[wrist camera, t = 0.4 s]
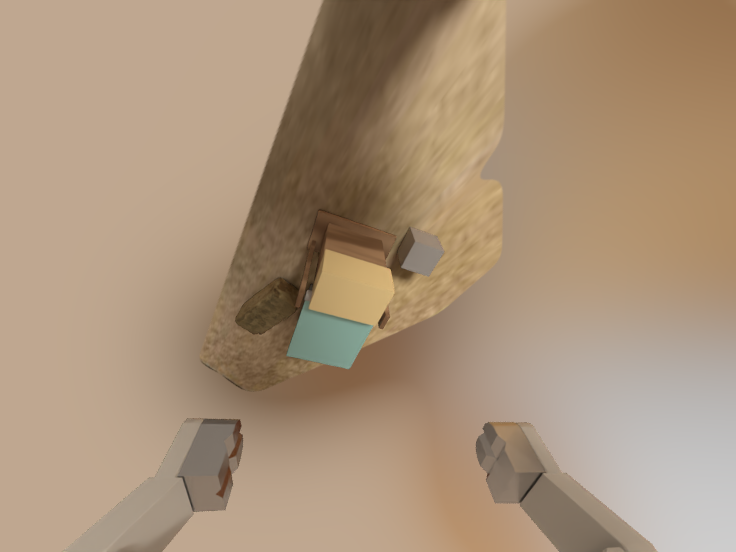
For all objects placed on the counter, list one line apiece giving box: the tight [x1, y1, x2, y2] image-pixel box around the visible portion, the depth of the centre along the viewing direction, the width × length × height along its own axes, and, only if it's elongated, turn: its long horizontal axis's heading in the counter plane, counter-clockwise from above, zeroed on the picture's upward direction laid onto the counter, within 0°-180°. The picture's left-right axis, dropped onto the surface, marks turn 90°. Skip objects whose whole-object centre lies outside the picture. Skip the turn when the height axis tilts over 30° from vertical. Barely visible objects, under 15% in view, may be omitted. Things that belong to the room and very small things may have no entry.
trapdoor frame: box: [295, 210, 396, 329], centre depth 42 cm, size 8×13×14 cm, turn 69°
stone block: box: [235, 278, 299, 334], centre depth 53 cm, size 6×12×5 cm, turn 129°
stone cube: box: [397, 227, 444, 276], centre depth 47 cm, size 5×5×5 cm
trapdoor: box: [286, 249, 395, 369], centre depth 41 cm, size 18×10×5 cm, turn 159°
